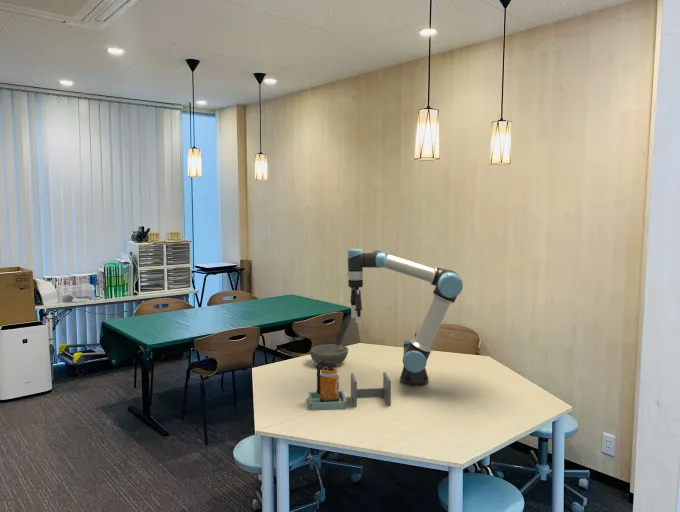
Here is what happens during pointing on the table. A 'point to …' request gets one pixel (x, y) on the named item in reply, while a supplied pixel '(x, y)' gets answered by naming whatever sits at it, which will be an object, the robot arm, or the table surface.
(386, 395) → the dock
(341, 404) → the tray
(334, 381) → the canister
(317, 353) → the bowl
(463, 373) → the table surface
